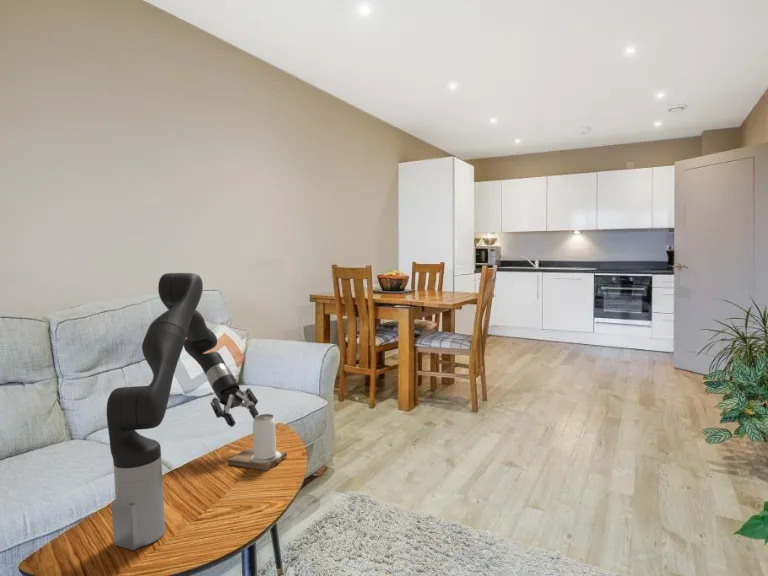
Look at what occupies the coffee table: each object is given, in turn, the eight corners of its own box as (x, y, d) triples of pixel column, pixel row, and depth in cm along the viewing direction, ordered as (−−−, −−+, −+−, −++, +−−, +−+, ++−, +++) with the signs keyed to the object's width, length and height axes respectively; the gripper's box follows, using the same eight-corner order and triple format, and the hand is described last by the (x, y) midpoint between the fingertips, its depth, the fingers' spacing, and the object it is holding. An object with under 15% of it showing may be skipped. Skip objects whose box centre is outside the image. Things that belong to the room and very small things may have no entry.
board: (268, 470, 134) (268, 464, 134) (228, 464, 140) (228, 458, 140) (288, 457, 144) (287, 451, 144) (249, 451, 149) (249, 446, 149)
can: (267, 461, 136) (265, 421, 136) (249, 458, 139) (247, 419, 138) (280, 453, 142) (279, 414, 142) (263, 450, 145) (262, 412, 144)
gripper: (206, 378, 145) (230, 421, 139) (245, 369, 157) (268, 408, 150) (198, 392, 149) (220, 435, 143) (236, 382, 160) (258, 421, 154)
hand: (245, 421), depth 146 cm, fingers open, 8 cm apart
